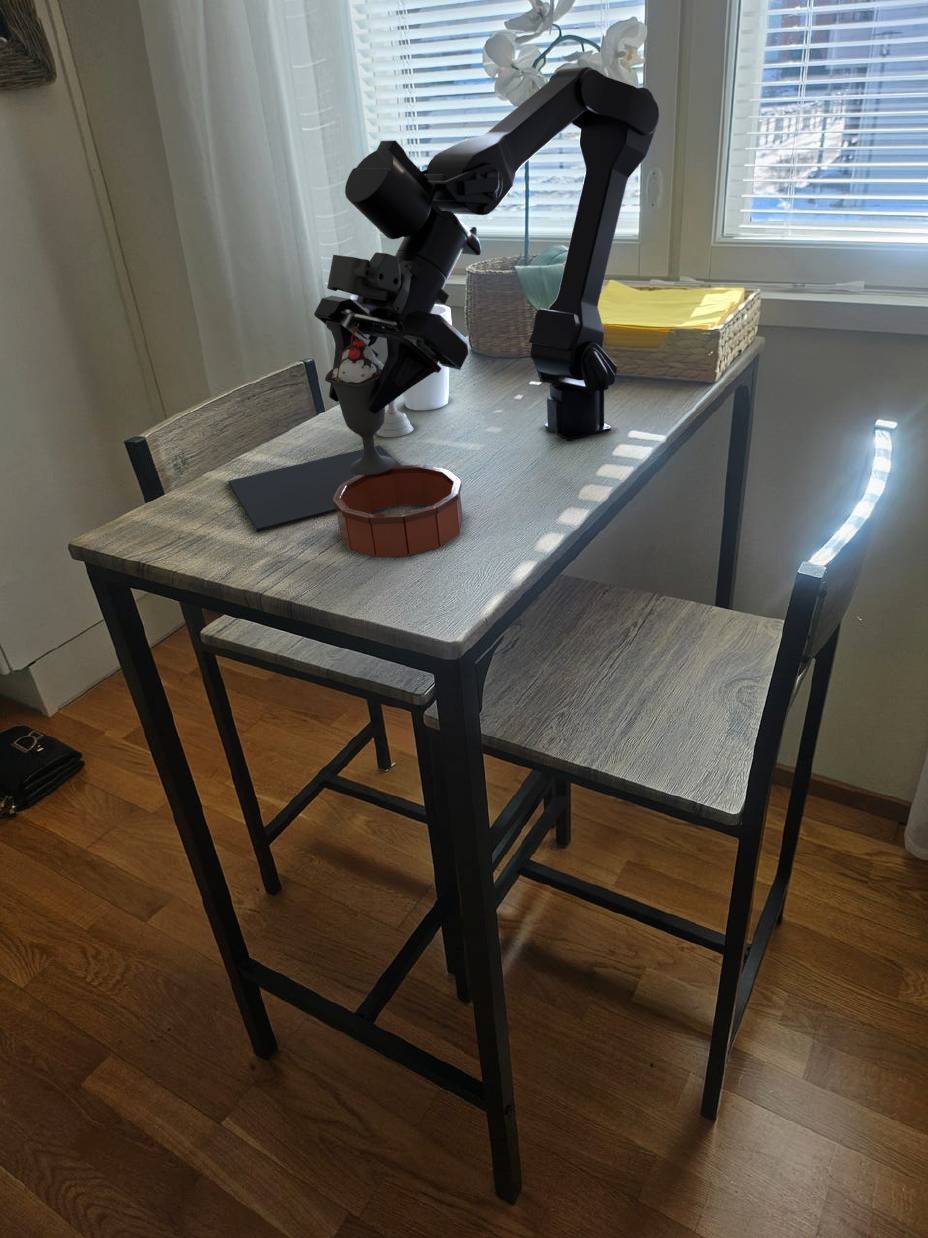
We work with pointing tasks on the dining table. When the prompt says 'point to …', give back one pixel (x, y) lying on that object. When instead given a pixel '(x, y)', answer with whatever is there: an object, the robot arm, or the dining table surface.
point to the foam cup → (431, 380)
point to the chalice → (394, 419)
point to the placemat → (295, 490)
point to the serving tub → (401, 529)
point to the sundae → (360, 402)
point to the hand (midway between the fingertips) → (351, 405)
